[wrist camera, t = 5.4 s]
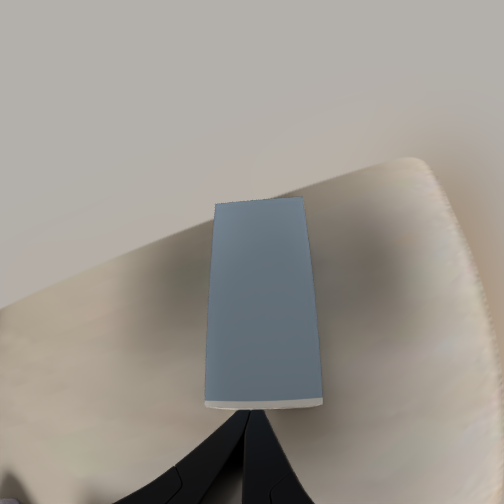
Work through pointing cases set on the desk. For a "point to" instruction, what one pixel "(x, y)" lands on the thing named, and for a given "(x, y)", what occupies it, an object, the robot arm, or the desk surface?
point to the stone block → (9, 501)
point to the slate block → (262, 309)
